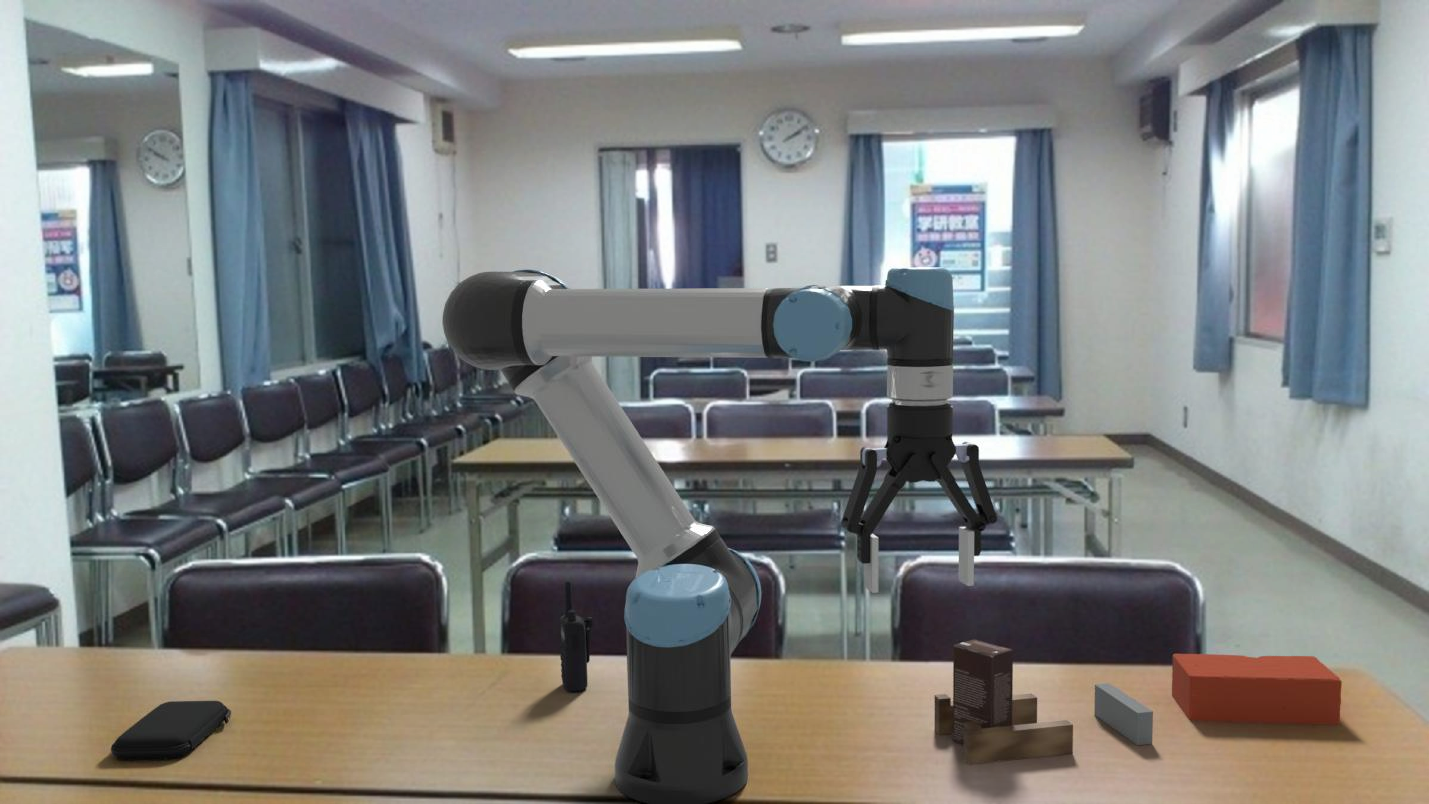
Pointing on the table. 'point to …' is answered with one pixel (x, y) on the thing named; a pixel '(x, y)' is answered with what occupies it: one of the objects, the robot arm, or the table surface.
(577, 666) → the two-way radio
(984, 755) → the brown piece
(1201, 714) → the brick
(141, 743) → the carrying case or bag
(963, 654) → the box
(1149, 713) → the end stop
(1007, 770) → the table surface
